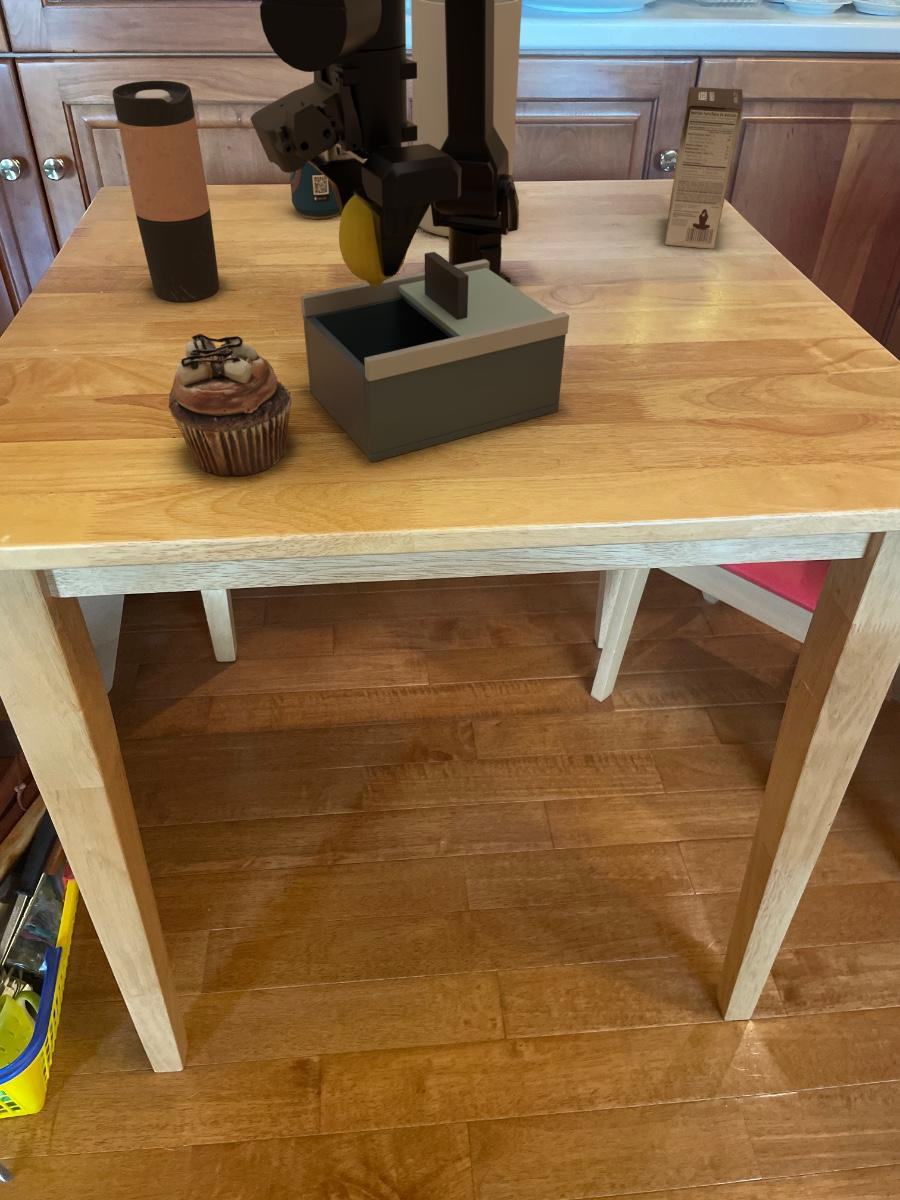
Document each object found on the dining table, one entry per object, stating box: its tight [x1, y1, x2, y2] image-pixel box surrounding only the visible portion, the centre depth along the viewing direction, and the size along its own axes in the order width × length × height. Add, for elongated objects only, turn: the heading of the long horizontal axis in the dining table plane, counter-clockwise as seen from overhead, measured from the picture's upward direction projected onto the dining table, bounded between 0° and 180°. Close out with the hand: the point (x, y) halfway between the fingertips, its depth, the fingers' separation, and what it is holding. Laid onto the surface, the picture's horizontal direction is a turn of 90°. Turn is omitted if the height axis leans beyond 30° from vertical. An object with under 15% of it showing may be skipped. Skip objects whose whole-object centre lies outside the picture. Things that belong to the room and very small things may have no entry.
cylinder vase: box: [410, 0, 523, 238], centre depth 112 cm, size 12×12×25 cm
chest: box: [299, 259, 570, 463], centre depth 82 cm, size 14×19×9 cm
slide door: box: [398, 251, 555, 337], centre depth 80 cm, size 12×9×4 cm
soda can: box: [289, 161, 341, 220], centre depth 119 cm, size 7×7×12 cm
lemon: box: [338, 195, 408, 287], centre depth 74 cm, size 6×6×8 cm
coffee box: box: [664, 86, 744, 250], centre depth 113 cm, size 9×6×16 cm
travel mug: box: [112, 80, 220, 303], centre depth 97 cm, size 8×8×20 cm
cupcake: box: [168, 333, 292, 477], centre depth 75 cm, size 10×10×10 cm
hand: (373, 262), depth 76 cm, fingers closed on lemon, 5 cm apart
